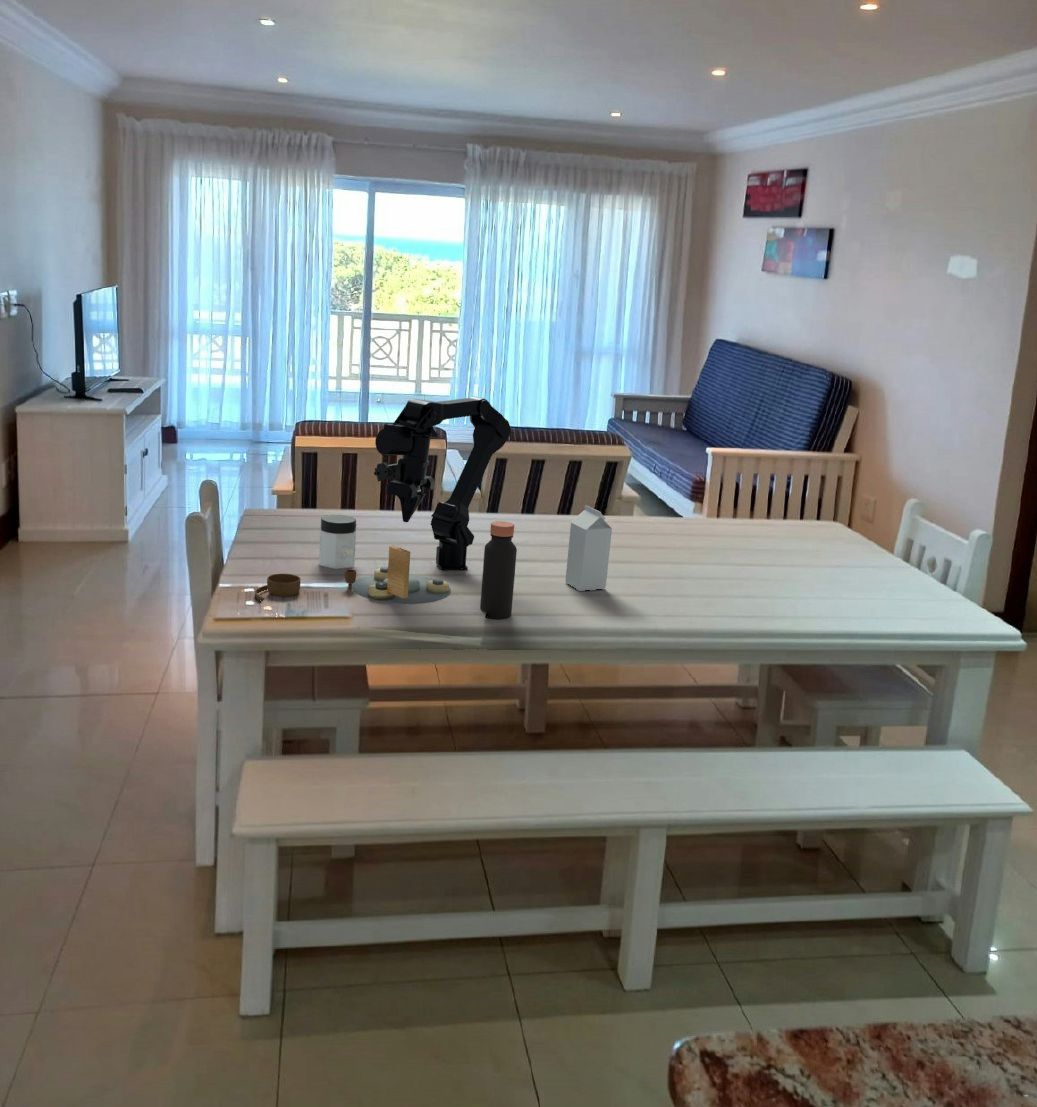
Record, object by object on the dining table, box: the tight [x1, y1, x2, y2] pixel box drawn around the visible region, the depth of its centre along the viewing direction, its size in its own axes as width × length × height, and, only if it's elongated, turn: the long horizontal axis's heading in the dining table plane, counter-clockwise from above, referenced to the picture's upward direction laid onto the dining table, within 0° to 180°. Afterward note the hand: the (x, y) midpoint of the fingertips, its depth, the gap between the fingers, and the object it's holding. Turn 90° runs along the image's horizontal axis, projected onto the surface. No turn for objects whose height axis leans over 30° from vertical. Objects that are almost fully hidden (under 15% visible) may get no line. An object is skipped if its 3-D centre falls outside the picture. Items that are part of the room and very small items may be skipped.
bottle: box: [479, 520, 518, 620], centre depth 230 cm, size 7×7×20 cm
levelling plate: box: [351, 566, 452, 605], centre depth 241 cm, size 22×22×3 cm
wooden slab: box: [367, 545, 411, 600], centre depth 231 cm, size 11×6×12 cm, turn 45°
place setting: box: [254, 568, 357, 602], centre depth 231 cm, size 18×20×6 cm
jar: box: [318, 514, 357, 570], centre depth 254 cm, size 9×8×12 cm
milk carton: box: [564, 504, 613, 592], centre depth 255 cm, size 7×7×19 cm
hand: (405, 521), depth 250 cm, fingers closed
